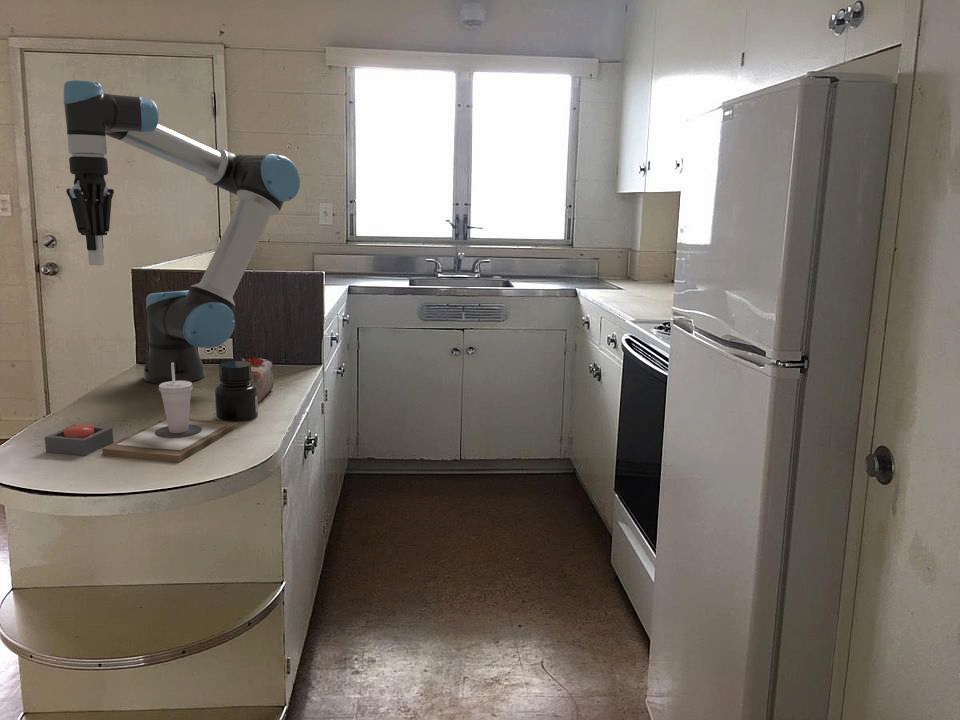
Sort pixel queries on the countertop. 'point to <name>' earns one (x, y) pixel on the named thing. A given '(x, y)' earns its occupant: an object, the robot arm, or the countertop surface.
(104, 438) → the button housing
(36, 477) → the countertop surface
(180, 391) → the smoothie
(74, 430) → the button
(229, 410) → the ink bottle
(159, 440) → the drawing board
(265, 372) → the food item
